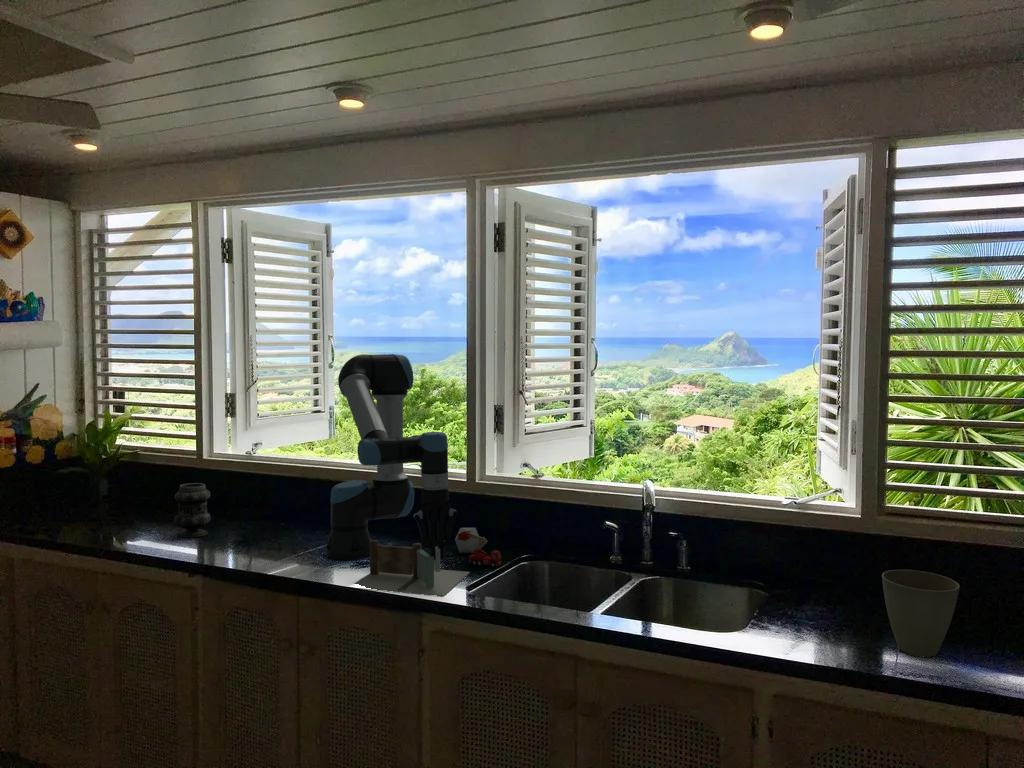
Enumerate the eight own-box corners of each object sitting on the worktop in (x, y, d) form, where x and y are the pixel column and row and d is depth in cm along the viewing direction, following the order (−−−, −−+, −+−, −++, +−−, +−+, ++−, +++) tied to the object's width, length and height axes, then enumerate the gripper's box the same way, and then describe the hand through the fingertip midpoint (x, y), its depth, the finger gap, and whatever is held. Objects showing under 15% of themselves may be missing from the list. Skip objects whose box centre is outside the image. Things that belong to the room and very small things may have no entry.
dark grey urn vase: (218, 533, 264) (217, 483, 263) (187, 540, 254) (187, 489, 253) (197, 529, 271) (196, 480, 270) (167, 535, 261) (166, 485, 260)
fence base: (368, 575, 215) (368, 541, 214) (372, 573, 217) (372, 539, 217) (419, 579, 211) (419, 545, 210) (422, 577, 213) (422, 543, 213)
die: (470, 559, 235) (486, 533, 237) (447, 544, 236) (464, 519, 239) (471, 561, 242) (486, 536, 245) (449, 547, 244) (465, 522, 246)
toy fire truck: (498, 567, 223) (499, 536, 223) (457, 563, 228) (457, 532, 227) (502, 564, 226) (502, 533, 226) (461, 560, 231) (461, 530, 231)
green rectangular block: (416, 578, 210) (416, 549, 210) (422, 577, 211) (422, 548, 211) (427, 588, 201) (427, 558, 201) (434, 587, 202) (433, 557, 202)
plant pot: (884, 659, 157) (886, 585, 156) (876, 634, 171) (878, 566, 170) (964, 670, 152) (966, 593, 151) (950, 643, 165) (952, 573, 165)
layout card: (349, 587, 203) (349, 586, 203) (383, 565, 225) (383, 564, 225) (443, 596, 196) (443, 595, 196) (469, 573, 217) (469, 571, 217)
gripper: (416, 491, 199) (418, 577, 200) (460, 487, 204) (462, 571, 205) (409, 487, 206) (411, 569, 207) (452, 483, 211) (454, 564, 212)
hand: (437, 570), depth 206 cm, fingers closed
